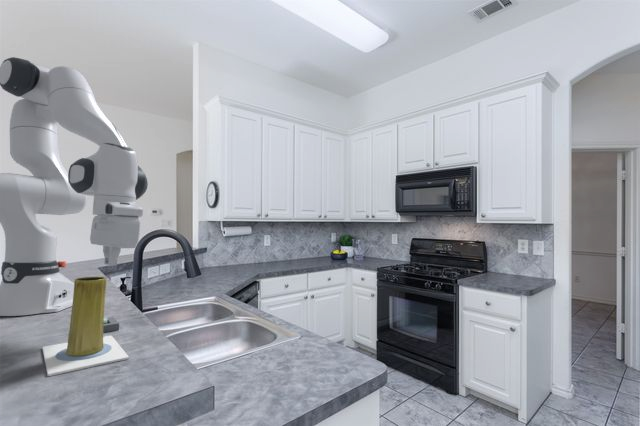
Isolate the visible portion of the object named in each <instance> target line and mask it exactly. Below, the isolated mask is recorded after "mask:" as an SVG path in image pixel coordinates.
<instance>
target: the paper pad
mask: <svg viewBox="0 0 640 426" xmlns="http://www.w3.org/2000/svg"><path fill="white" fill-rule="evenodd" d="M67 345H68V342H63V343H58V344H51V345H45V346H42V349H41V350H42V354H43V360H44V364H45V370H46V375H47V377H52V376H56V375H60V374H66V373H70V372H75V371H79V370H86V369H88V368H89V369H90V368H93V367H94V368H95V367H97V366H99V367H100V366H103V365H107V364H112V363H113V364H114V363H116V362H121V361H126V360H129V359H130V356H129V355H128V353H126V351H125V350H124V349H123V348H122V347H121V345H120V344H119V342H118V341H117V340H116V339H115V338H114V337H113V335H105V336H104V335H103V345H104V348H103V349H102V350H101V351H99V352H97V353H94V354H91V355H85V356H69V355H67V354H66V350H67Z"/></svg>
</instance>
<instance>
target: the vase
mask: <svg viewBox="0 0 640 426" xmlns="http://www.w3.org/2000/svg"><path fill="white" fill-rule="evenodd" d="M73 283H74V294H73V304H72V306H71V312H70V323H69V333H68V338H67V343H68V345H67V350H66V354H67V355H69V356H85V355H91V354H94V353H97V352H99V351H101V350H102V349H103V348H104V345H103V337H104V332H103V324H104V317H105V316H104V315H105V303H106V290H107V277H104V276H85V277H84V276H83V277H78V278H75V279H74V282H73Z"/></svg>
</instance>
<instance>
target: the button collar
mask: <svg viewBox="0 0 640 426" xmlns="http://www.w3.org/2000/svg"><path fill="white" fill-rule="evenodd" d="M107 318H108V320H107V324H103V333H107V332H115V331H119V330H120V322H119V321H117V319H115V318H114V317H113V316H112V317H107Z"/></svg>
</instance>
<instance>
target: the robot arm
mask: <svg viewBox="0 0 640 426" xmlns="http://www.w3.org/2000/svg"><path fill="white" fill-rule="evenodd" d="M0 87H1V89H2V90H4V91H5V92H7V93H8V94H11V95H12V96H15V97H18V98H19V97H20V98H22V99H18V100H17V101H16V102H15V103H14V104H13V107H12V110H11V115H10V120H9V154H10V157H11V158H12V159H13V161H14V162H15V163H16V164H18V165H20V166H21V167H23V168H25V169H26V170H28V171H29V173H30V174H31V175H27V174H20V173H19V174H18V173H11V172H6V173H5V172H0V225H1V227H2V230H3V232H4V238H5V241H4V242H5V251H4V253H5V254H4V261H3V262H2V264H1V270H0V275H1V278H2V279H1V281H0V317H16V316H29V315H38V314H46V313H57V312H60V311H62V310H65V309H68V308H72V304H73V294H74V282H73V281H71V280H70V279H69V278H67V277H66V276H65V275H63V274H62V273H61V272H60V268H62V269H63V268H64V269H65V268H66V267H67V265H68V263H67V261H65V260H63V261H61V260H59V261H57V260H56V257H57V256H56V255H57V245H58V239H57V238H58V237H57V235H56V234H55V232H54V231H53V230H52V229H50V228H49V227H48V228H47V227H45V226H43V225H41V224H40V223H39V222H38V220H37V219H36V215H49V216H50V215H52V216H53V215H55V216H67V215H74V214H79V213H81V212H82V211H83V210H84V208H85V207H86V206H87V204H88V196H92V197H93V203H92V205H93V206H92V215H94V217H93V218H92V223H91V227H90V228H91V229H90V235H89V238H90V239H89V240H90V244H91V245H96V246H102V252H103V253H102V254H103V257H104V261H103V262H104V264H105V265H106V266H109V267H110V266H111V267H113V266H117V264H118V258H119V256H120V253H121V252H122V251H121V249H135V248H136V247H137V246H138V244H139V238H140V233H141V232H140V231H141V217H143V215H144V208H143V207H141V206H140V205H139V204H138V203H137V200H139V199H140V198H142V197H143V195H144V194H145V193H146V192H147V189H148V184H149V183H148V179H147V176H146V173H145V172H144V170H143V169H142V168H141V167H140V166H139V165H138V155H137V153H136V151H135V150H134V149H133V148H131V147H128V145H127V144H126V142H125V140H124V137H123V136H122V134H121V132H120V131H119V129H118V128H117V127H116V126H115V125H114V124H113V122H111V121H110V119H109V118H108V117H107V116H106V114H104V112H103V111H102V109H101V108H100V106H99V105H98V103H97V100H96V97H95V94H94V92H93V90H92V88H91V86H90V84H89V83H88V81H87V79H86V78H85V76H84V75H83V74H82V73H81V72H79V71H78V70H77V69H75V68H72V67H70V66H62V65H61V66H56V67H53V68H51V69H50V68H48V67H46V66H43V65H40V64H36V63H33V62H31V61H29V60H28V59H24V58H19V57H15V56H14V57H12V56H11V57H9V58H6V59H4V60H3V61H2V62H1V64H0ZM57 125H59V126H60V127H62V128H63V129H65V130H67V131H68V132H71V133H73V134H75V135H77V136H79V137H81V138H84V139H86V140H88V141H90V142H91V143H93V144H96V145H97V146H98V149H97V150H96V152H94V153H93V154H92V155H90V156H87V157H82V158H79V159H77V160H75V161H74V162H72V164H70V166H69V169H68V172H67V170H66V168H65V166H64V165H63V163H62V159H61V154H60V149H59V133H58V126H57Z"/></svg>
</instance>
